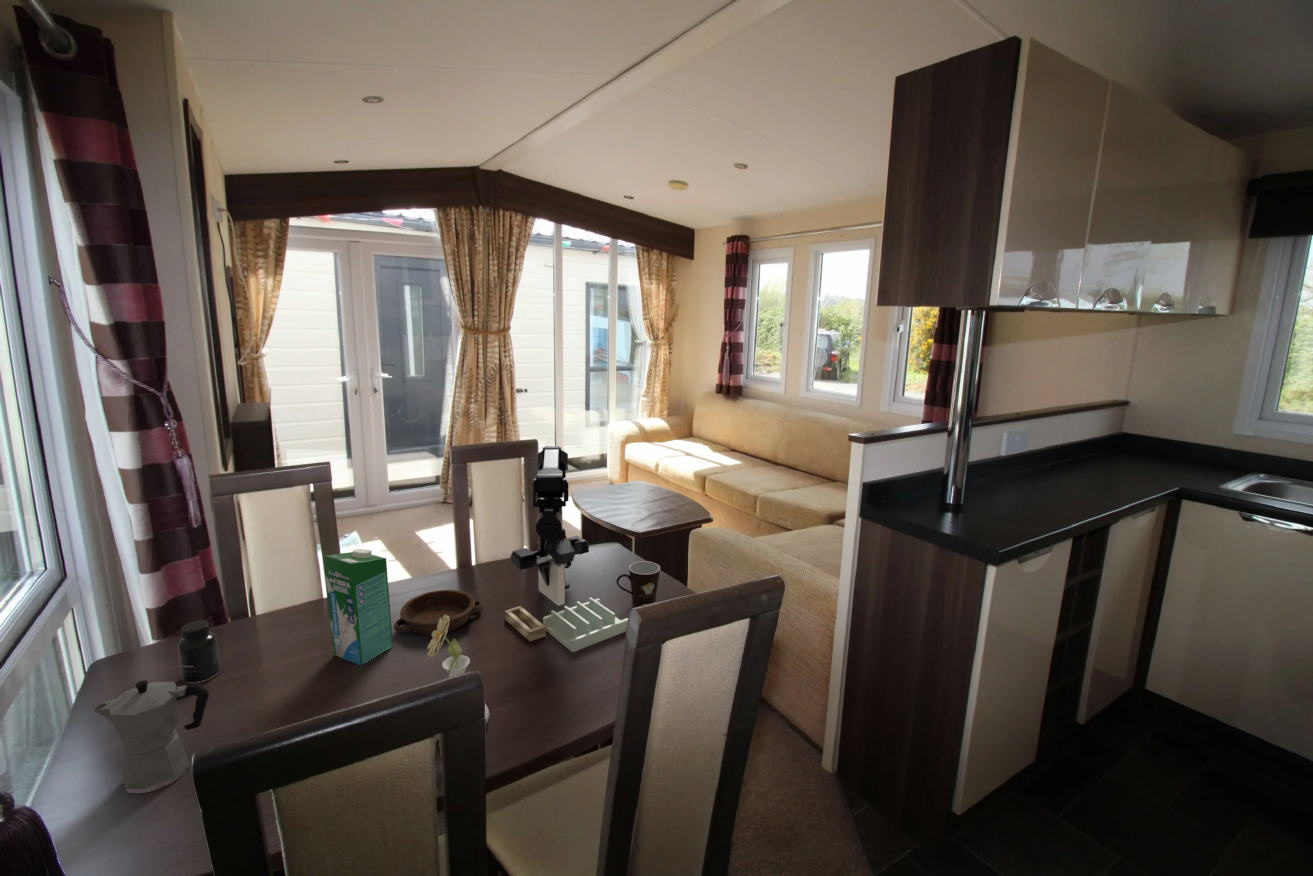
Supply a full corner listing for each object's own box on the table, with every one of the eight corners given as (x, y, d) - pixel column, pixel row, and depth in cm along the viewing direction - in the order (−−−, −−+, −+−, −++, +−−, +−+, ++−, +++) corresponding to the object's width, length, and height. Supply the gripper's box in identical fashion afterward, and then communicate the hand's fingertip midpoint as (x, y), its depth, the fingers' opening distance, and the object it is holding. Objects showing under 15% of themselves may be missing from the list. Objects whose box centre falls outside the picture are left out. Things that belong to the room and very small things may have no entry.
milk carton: (393, 647, 145) (385, 548, 140) (361, 666, 137) (351, 563, 132) (366, 637, 149) (358, 541, 143) (333, 656, 141) (323, 555, 135)
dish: (385, 620, 157) (384, 602, 156) (469, 597, 170) (468, 581, 169) (404, 651, 144) (403, 632, 143) (493, 624, 157) (493, 606, 156)
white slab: (538, 590, 154) (538, 553, 152) (545, 588, 155) (544, 551, 153) (558, 605, 146) (557, 567, 144) (564, 603, 147) (564, 565, 145)
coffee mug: (660, 594, 174) (661, 562, 172) (657, 609, 166) (658, 575, 164) (620, 592, 175) (620, 559, 173) (615, 606, 167) (615, 572, 165)
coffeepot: (97, 806, 98) (77, 708, 94) (119, 766, 107) (101, 675, 103) (212, 778, 104) (198, 685, 100) (224, 743, 113) (211, 655, 109)
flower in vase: (441, 705, 125) (434, 593, 119) (496, 708, 124) (492, 595, 119) (414, 751, 112) (405, 628, 106) (476, 754, 111) (470, 630, 106)
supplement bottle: (179, 689, 128) (170, 637, 125) (185, 671, 134) (177, 622, 131) (218, 680, 131) (211, 629, 128) (223, 663, 137) (216, 615, 134)
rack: (543, 628, 155) (542, 610, 154) (598, 608, 166) (598, 591, 165) (572, 652, 144) (572, 633, 143) (629, 629, 155) (629, 612, 154)
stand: (505, 619, 159) (505, 610, 158) (520, 614, 161) (520, 605, 161) (529, 641, 149) (529, 632, 148) (545, 636, 151) (545, 626, 151)
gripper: (530, 543, 135) (531, 607, 138) (601, 526, 146) (601, 586, 150) (508, 528, 144) (510, 589, 147) (577, 513, 155) (577, 570, 158)
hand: (551, 584), depth 150 cm, fingers closed on white slab, 2 cm apart
